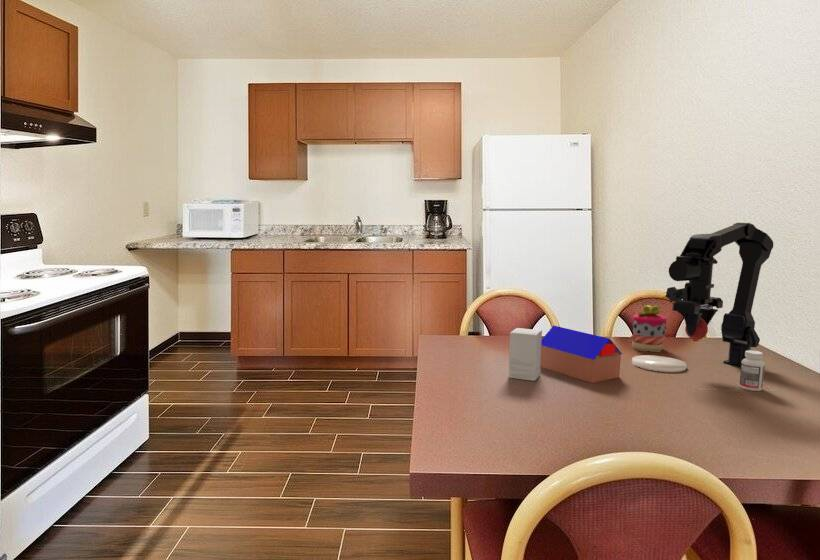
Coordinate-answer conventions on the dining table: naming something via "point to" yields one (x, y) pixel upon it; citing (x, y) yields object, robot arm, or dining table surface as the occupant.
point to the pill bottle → (752, 371)
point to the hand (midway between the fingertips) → (695, 334)
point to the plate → (659, 363)
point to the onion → (699, 331)
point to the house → (580, 355)
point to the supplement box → (525, 354)
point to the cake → (648, 330)
